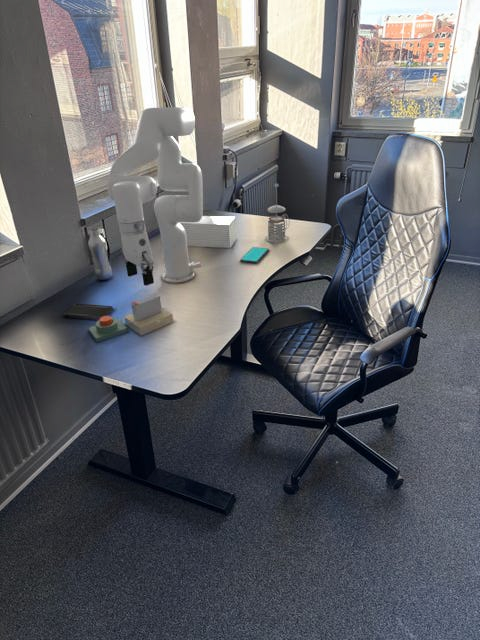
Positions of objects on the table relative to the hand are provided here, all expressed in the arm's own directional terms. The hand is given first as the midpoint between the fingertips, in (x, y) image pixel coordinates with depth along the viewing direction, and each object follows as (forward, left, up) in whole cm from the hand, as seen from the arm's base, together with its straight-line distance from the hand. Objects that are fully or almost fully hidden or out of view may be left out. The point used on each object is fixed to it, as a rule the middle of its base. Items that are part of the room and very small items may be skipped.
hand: (140, 279), depth 143 cm
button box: (+12, -2, -15) cm, 20 cm away
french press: (-79, -34, -16) cm, 88 cm away
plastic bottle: (0, -43, -16) cm, 46 cm away
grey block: (0, +1, -12) cm, 12 cm away
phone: (+14, -18, -16) cm, 28 cm away
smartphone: (-59, -24, -16) cm, 66 cm away
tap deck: (0, +1, -15) cm, 15 cm away
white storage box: (-49, -54, -16) cm, 75 cm away
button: (+12, -2, -12) cm, 18 cm away
